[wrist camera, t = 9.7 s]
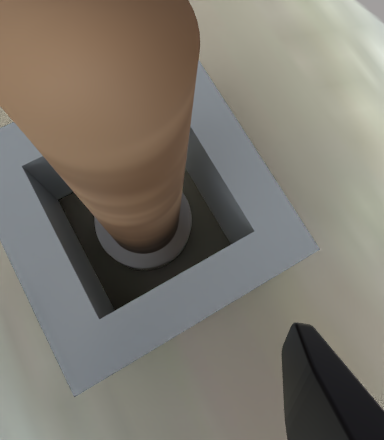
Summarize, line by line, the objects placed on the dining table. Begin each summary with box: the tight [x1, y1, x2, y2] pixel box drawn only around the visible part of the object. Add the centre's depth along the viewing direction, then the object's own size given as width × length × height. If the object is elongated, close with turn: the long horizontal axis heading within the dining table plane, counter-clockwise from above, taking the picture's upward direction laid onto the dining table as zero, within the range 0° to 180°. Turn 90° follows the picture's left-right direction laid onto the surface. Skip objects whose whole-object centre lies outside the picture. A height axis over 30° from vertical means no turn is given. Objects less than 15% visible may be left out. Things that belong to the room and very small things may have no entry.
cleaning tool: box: [0, 0, 200, 270], centre depth 12 cm, size 4×4×13 cm
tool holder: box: [0, 60, 320, 397], centre depth 16 cm, size 10×10×4 cm
